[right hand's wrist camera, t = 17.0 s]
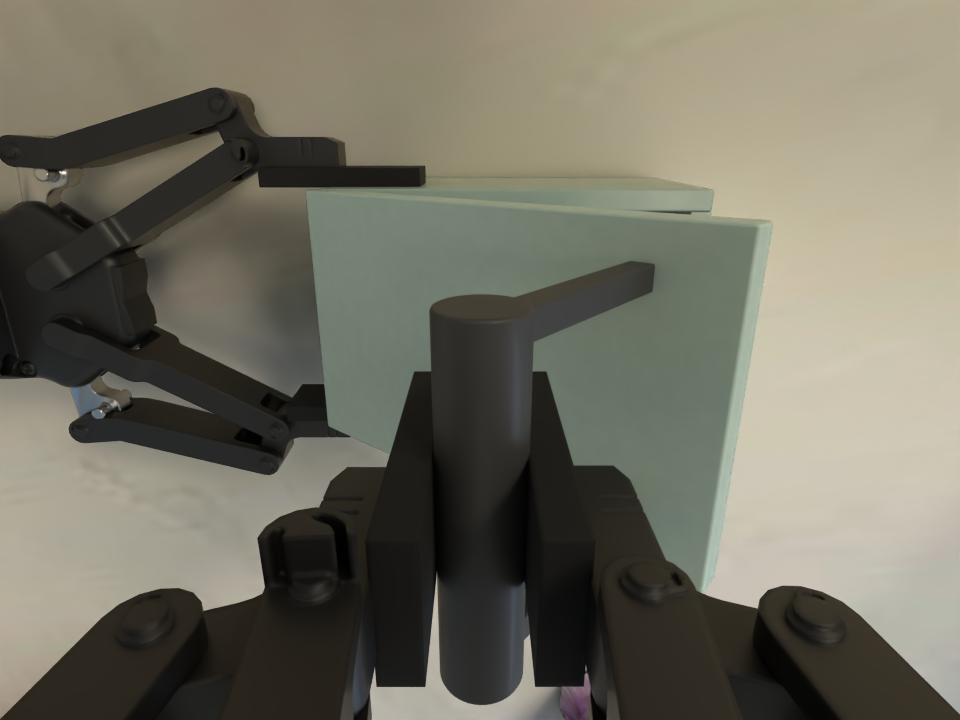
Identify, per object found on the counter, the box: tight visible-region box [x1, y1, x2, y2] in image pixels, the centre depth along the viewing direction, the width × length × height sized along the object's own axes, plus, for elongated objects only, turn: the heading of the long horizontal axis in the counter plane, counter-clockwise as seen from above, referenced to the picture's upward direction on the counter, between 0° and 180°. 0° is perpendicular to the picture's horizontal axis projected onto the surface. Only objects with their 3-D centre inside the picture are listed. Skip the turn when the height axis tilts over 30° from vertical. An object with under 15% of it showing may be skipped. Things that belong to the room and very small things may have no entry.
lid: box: [306, 189, 773, 705], centre depth 17 cm, size 16×10×8 cm
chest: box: [324, 178, 714, 216], centre depth 28 cm, size 15×10×9 cm, turn 90°
